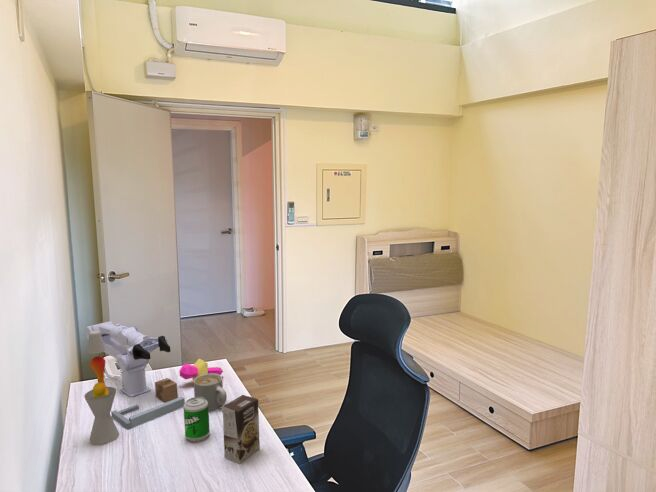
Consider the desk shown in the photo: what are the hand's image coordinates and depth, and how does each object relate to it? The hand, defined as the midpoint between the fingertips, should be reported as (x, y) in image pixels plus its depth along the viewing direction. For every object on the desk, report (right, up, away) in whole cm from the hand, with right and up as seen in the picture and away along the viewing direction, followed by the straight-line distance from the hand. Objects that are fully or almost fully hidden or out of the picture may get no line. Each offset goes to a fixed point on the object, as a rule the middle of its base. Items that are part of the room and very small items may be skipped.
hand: (159, 352), depth 167 cm
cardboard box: (-1, -19, +10) cm, 22 cm away
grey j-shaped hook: (-3, -21, 0) cm, 21 cm away
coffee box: (+34, -24, -26) cm, 49 cm away
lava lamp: (-12, -23, -16) cm, 31 cm away
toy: (+8, -17, +23) cm, 30 cm away
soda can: (+18, -23, -16) cm, 34 cm away
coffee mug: (+18, -20, +3) cm, 27 cm away
